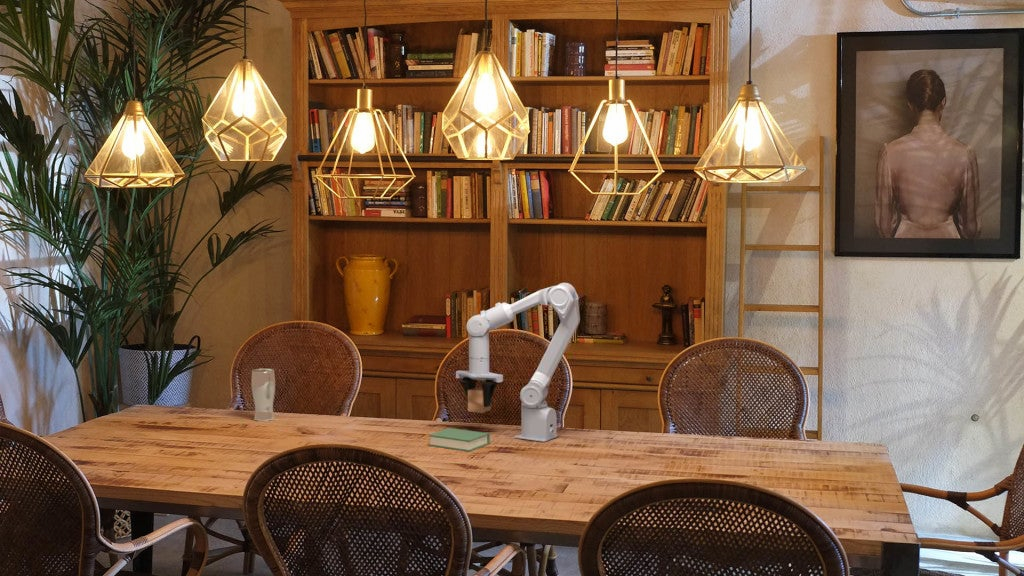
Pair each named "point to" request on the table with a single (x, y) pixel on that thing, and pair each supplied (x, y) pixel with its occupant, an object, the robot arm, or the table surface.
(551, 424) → the robot arm
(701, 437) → the table surface
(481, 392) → the brown wooden block
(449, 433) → the green book
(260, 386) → the beer glass
